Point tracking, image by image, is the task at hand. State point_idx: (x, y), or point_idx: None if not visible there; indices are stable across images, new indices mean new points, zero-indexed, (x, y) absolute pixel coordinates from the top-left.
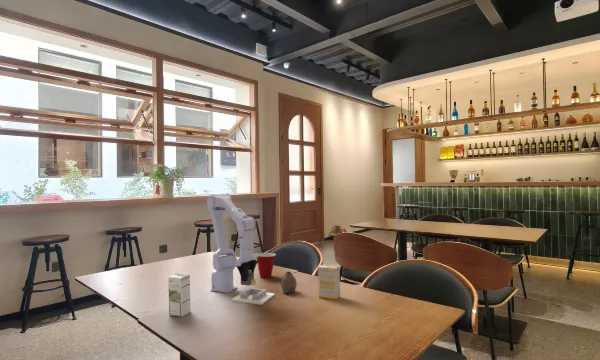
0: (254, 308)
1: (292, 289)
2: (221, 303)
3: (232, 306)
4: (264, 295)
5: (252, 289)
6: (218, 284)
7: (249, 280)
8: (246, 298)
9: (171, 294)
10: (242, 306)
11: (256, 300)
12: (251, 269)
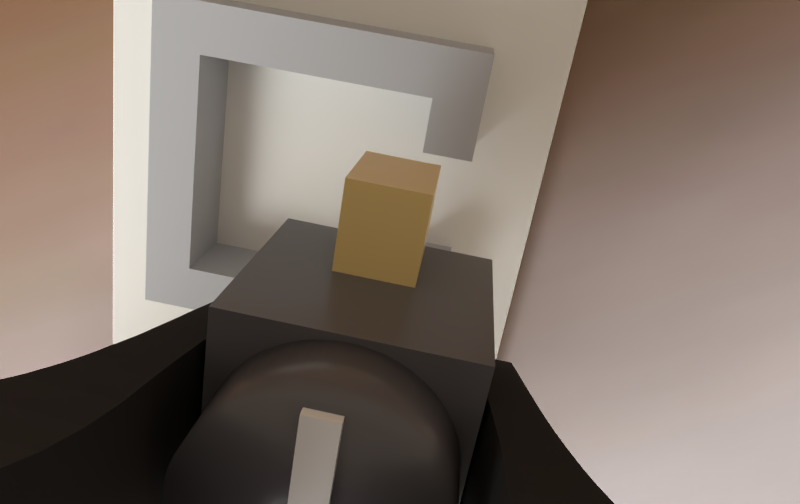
0: (760, 5)
1: None
2: None
3: (676, 337)
4: (257, 4)
5: (195, 241)
6: None
7: (479, 301)
8: (435, 241)
9: None
10: (674, 211)
11: (502, 62)
12: (141, 444)
